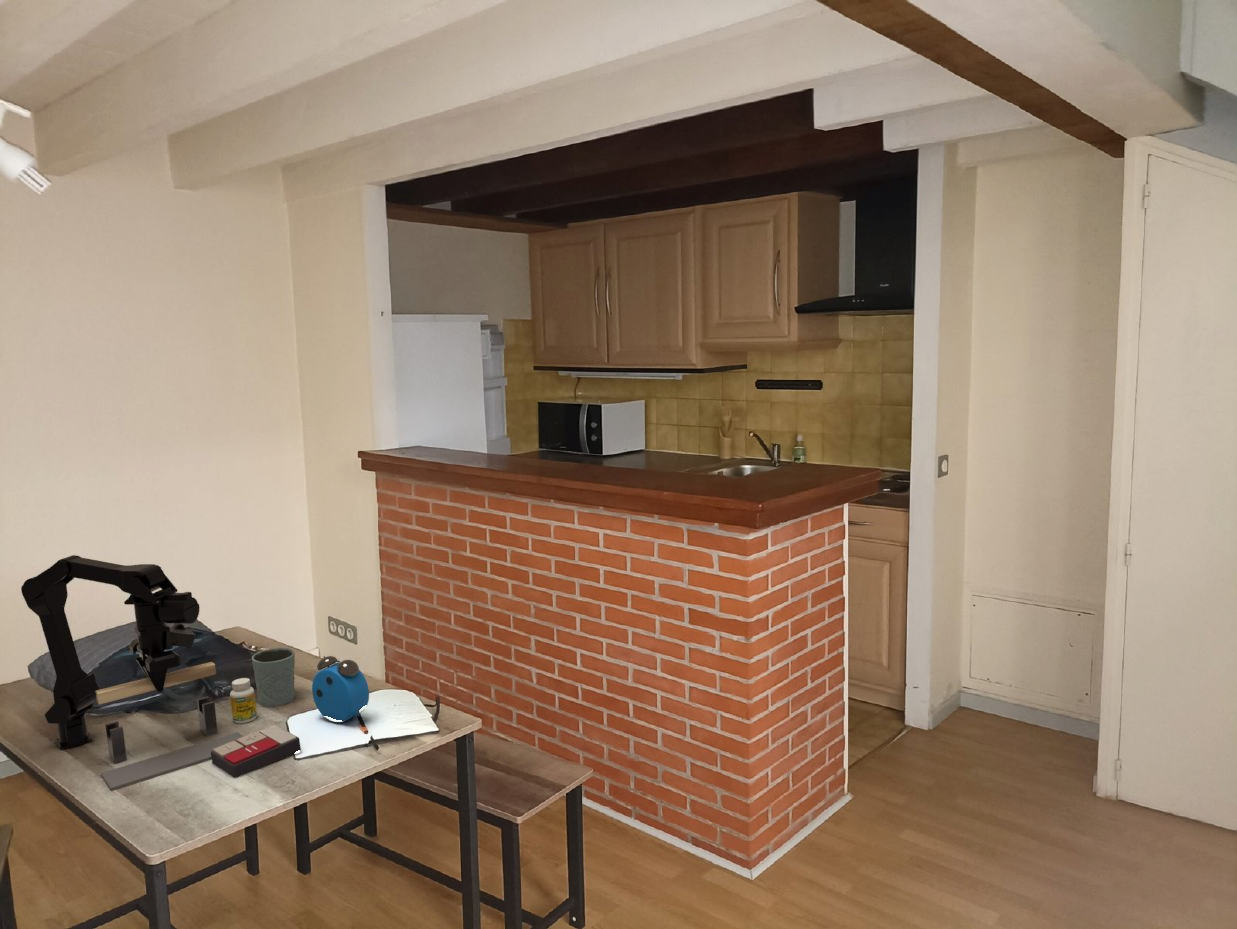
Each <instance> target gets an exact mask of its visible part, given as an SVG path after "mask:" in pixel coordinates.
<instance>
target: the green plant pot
mask: <svg viewBox="0 0 1237 929" xmlns="http://www.w3.org/2000/svg"><path fill="white" fill-rule="evenodd" d="M295 659H296V655H295V650H294V649H292V648H288V647H274V648H267V649H264V650H261V651H258V652H255V653H254V654H253V655H252V656H251V663H252V668H253V674H254V681H255V686H256V694H257V702H258V704H259V706H262V707H267V708H273V707H279V706H283V705H287V704H289V703H291V702H292V701H293V700H294V699H295V697H296V696H295V695H296V694H295V692H296V691H295V664H296V663H295V662H296V660H295Z"/></svg>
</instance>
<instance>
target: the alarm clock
mask: <svg viewBox="0 0 1237 929" xmlns="http://www.w3.org/2000/svg"><path fill="white" fill-rule="evenodd" d="M316 668H317V671H318V672H317V673H316V674H315V675H314V678H313V680H312V684H311V685H312V686H311V691H312V692H311V693H312V698H313V702H314V704H315V706H316V708H317V710H318V712H320V714H321V715H322V717H324V716H328V717H331V718H333V719H336V720H342V721H344V722H346V721H348V720H350V719H351V718H354V717H356V716H357V715H358V714H359V710H360V709H361V708H362V707H363V706H365V705H367V706H368V703H369V701H370V689H369V685H368V682H367V680H366V677H365V676H364V674H363V672H362V671H361V670H360V667H359V665H358V663H357V662H356V661H355V660H352V659H343V660H342V661H340V660H338V658H337V657H336V656H334V655H327V656H325V655H324V656H323V658H321V659H320V660H319V661H318V663H317V665H316Z"/></svg>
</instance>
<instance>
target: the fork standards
mask: <svg viewBox="0 0 1237 929" xmlns="http://www.w3.org/2000/svg"><path fill="white" fill-rule="evenodd" d="M196 702H197V711H198V719H199V728H200V731H201V732H202V734H204V735H205V736H206V737H210V736H213V735H215V734H216V735H217V734H218V732H219V731H218V724H217V723H218V722H217V714H216V706H215V702H214V701H213V700H212V701H210V696H204V697H199V698H196ZM104 725H105V731H106V739H107V748H108V755H109V758H110V759H111V761H112V762H113V764H114V765H115V764H120V763H122V762H123V763H124V762H126V761H127V759H128V758H127V752H126V751H127V750H126V744H125V741H126V740H125V733H124V728H123V726H122V725H121V726H120V724H119V721H118V720H116V721H112V722H108V723H105V724H104Z"/></svg>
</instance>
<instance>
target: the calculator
mask: <svg viewBox="0 0 1237 929" xmlns="http://www.w3.org/2000/svg"><path fill="white" fill-rule="evenodd" d="M300 741H301V740H300V737H298V736H297V735H295V734H293V733H291V732H289V731H288V730H286V729H284V728H282V727H280V726H278V725H276V724H273V725H271V726H268V727H265V728H263V729H261V730H259V731H256V730H255V731H254V732H251V733H249V734H246V735H244V736H243V737H241V738H239V739H237V741H232V742H229V743H227V744H224V745H222V746H219V747H217V748H214V749H213V751H211V758H212V759H211V764H213V765H214V766H215V767H217V768H219V769H220V770H221V771H223V772H225V773H226V774H228V775H230V777H232V778H233V779H234V778H235V779H236V778H238V777H242V776H244V775H246V774H249V773H251V772H254V771H257V770H260V769H262V768H264V767H266V766H269V765H271V764H273V763H276V762H278V761H280V760H285V759H288V758H290V757H292V756H295V755H294V753H295V752H296V751H298V750H301V751H302V748H301V747H302V746H301V742H300Z"/></svg>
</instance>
